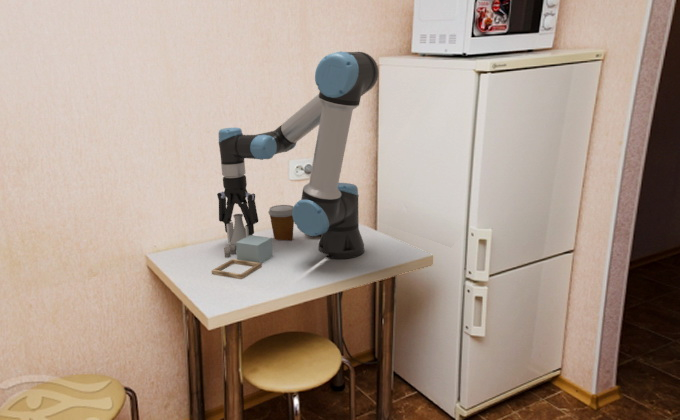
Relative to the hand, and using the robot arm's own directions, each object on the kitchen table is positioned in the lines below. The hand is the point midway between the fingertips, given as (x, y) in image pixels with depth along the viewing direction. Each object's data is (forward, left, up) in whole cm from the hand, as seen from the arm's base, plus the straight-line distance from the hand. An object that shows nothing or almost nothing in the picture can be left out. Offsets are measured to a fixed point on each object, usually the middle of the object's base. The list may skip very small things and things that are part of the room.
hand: (240, 242), depth 191 cm
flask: (0, 0, -1) cm, 1 cm away
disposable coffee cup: (-8, -14, -3) cm, 17 cm away
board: (-8, +14, -3) cm, 16 cm away
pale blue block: (-11, +8, -1) cm, 14 cm away
